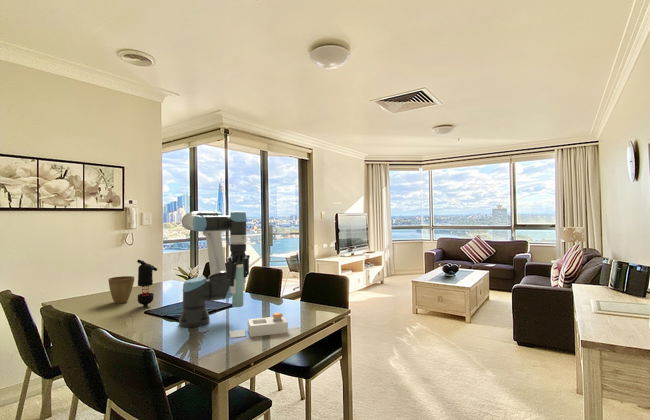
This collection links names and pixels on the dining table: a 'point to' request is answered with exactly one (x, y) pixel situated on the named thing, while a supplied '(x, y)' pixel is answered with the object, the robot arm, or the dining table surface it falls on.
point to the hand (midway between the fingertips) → (237, 291)
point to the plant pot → (121, 288)
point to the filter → (145, 282)
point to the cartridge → (238, 287)
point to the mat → (237, 333)
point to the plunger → (277, 316)
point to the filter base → (267, 326)
